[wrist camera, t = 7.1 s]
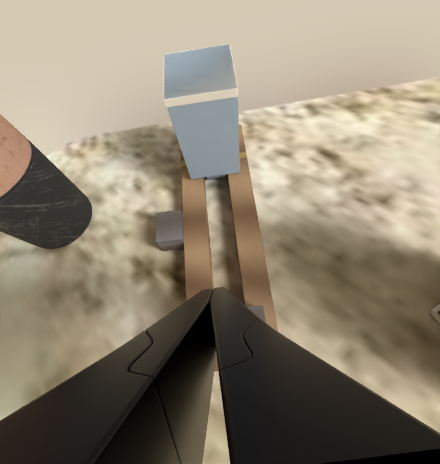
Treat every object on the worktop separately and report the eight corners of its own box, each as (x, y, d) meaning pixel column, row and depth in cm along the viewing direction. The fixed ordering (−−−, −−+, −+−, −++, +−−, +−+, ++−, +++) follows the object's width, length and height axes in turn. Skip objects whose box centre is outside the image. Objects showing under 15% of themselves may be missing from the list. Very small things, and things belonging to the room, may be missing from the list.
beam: (280, 362, 19) (289, 368, 15) (163, 373, 19) (144, 382, 16) (241, 135, 29) (240, 106, 25) (163, 146, 29) (152, 119, 26)
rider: (240, 182, 26) (238, 88, 16) (193, 189, 26) (163, 100, 16) (235, 146, 28) (229, 43, 18) (191, 152, 28) (163, 54, 18)
